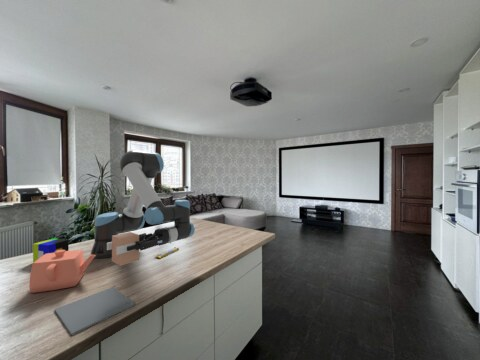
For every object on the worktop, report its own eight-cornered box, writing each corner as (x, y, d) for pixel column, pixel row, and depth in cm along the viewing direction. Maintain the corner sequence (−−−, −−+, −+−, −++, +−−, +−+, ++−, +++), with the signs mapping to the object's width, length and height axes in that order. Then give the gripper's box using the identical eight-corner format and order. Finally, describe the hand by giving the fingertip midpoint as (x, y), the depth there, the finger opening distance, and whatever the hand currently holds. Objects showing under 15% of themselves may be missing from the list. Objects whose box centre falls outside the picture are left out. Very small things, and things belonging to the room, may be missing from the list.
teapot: (20, 302, 74) (20, 263, 74) (48, 275, 94) (48, 244, 94) (88, 291, 82) (88, 255, 82) (100, 268, 102) (100, 240, 102)
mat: (54, 310, 70) (54, 308, 70) (113, 288, 84) (113, 286, 84) (71, 335, 59) (71, 333, 59) (135, 305, 73) (135, 303, 73)
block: (111, 261, 81) (112, 235, 81) (129, 255, 87) (130, 232, 87) (120, 265, 77) (120, 238, 77) (138, 259, 83) (139, 234, 83)
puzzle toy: (48, 265, 105) (48, 245, 105) (33, 263, 107) (33, 243, 107) (68, 257, 115) (68, 239, 115) (53, 256, 117) (54, 238, 117)
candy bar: (174, 249, 132) (174, 246, 132) (180, 250, 130) (180, 247, 130) (153, 258, 117) (153, 255, 117) (159, 259, 115) (159, 256, 115)
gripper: (179, 247, 91) (125, 265, 72) (152, 239, 102) (100, 252, 84) (179, 230, 91) (125, 243, 72) (153, 224, 102) (100, 234, 84)
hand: (112, 248), depth 78 cm, fingers closed on block, 7 cm apart
